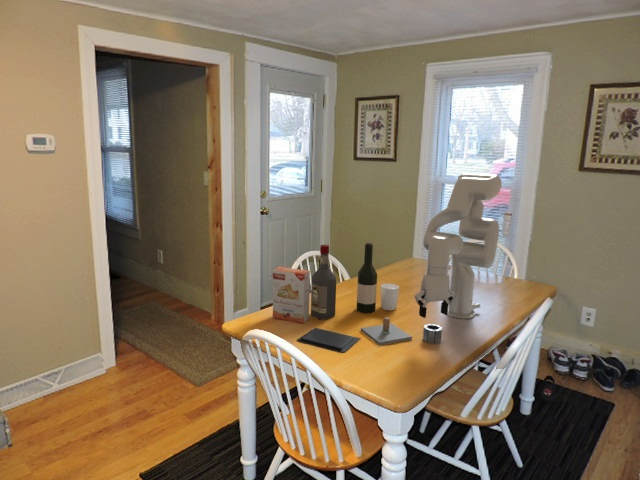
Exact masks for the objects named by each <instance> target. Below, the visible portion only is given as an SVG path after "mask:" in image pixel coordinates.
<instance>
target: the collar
mask: <svg viewBox="0 0 640 480" xmlns="http://www.w3.org/2000/svg"><path fill="white" fill-rule="evenodd" d="M442 335H443V327H442V326H441V325H439V324H435V323H434V324H433V323H428V324H424V326H423V333H422V341H424V342H425V343H428V344H432V345H436V344H440V343H442V337H443V336H442Z"/></svg>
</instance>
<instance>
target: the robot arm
mask: <svg viewBox="0 0 640 480" xmlns="http://www.w3.org/2000/svg"><path fill="white" fill-rule="evenodd" d="M501 188H502V179H501V177H500V176H499V175H497V174H490V173H472V172H471V173H470V172H469V173H468V172H467V173H466V172H465V173H461V174H460V175H459V176H458V177H457V180H456V181H455V183H454V185H453V189H452V192H451V194H450V197H449V200H448V203H447V206H446V207H445V208H444V209H443V210H441V211H439V212H438V213H437V214H436V215H435V216H433V218H431V220H430V221H429V222H428V225H427V227H426V231H425V233H424V237H423V239H422V240H423V241H422V244H423V247H424V249H426V250H427V251H428V252H427V264H426V272H424V274H423V277H422V280H421V285H420V291H419V292H417V293H415V295H414V299H415V302H416V304H418V306H419V311H418V313H419V314H418V316H419V317H421V318H423V319H425V318H426V317H427V307H426V306H428V304H429V303H434V302H441V301H442V302H441V305H440V313H441V314H443V315H445V316H448V317H452V318H454V319H455V318H456V319H460V320H461V319H462V320H463V319H464V320H466V319H469V320H470V319H472V318H474V317H475V316H476V312H475V309H479V308H481V304H480V303H475V304H474V302H473V300H474V299H473V298H474V289H475V287H474V286H475V277H476V276H475V271H474V270H473V267H478V268H483V269H489V268H491V267H493V265H494V263H495V260H496V253H497V247H498V243H499V242H498V241H499V235H500V224H499V222H498V221H497V220H496V219H494V218H490V217H489V218H488V217H483V215H484V209H485V205H484V203H483V201H486V202H487V201H491V200H492V199H493V198H495V197H496V196H498V194H499V193H500V192H501ZM455 222H459V227H458V234H459V235H458V234H456V233H449V232H444V231H439V229H441V228H442V227H444V226H446V225H448V224H451V223H455ZM463 239H467V240H472V241H473V240H474V241H480V242H484V243H476V242H470V241H464V240H463ZM450 258H451V266H449V265H450ZM450 269H451V276H450V274H449V271H450Z"/></svg>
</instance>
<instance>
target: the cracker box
mask: <svg viewBox="0 0 640 480" xmlns="http://www.w3.org/2000/svg"><path fill="white" fill-rule="evenodd" d="M310 277H311V271H310V270H306V269H298V268H293V267H286V266H285V267H284V266H277V267H276V268H274V269H273V270H272V318H273V319H278V320H282V321H288V322H294V323H299V324H305V323H306V322H307V321H308V320H309V318H310V292H311V285H310V284H311V283H310V282H311V281H310V280H311V278H310Z"/></svg>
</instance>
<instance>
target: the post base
mask: <svg viewBox="0 0 640 480" xmlns="http://www.w3.org/2000/svg"><path fill="white" fill-rule="evenodd" d="M390 320H391V318H389V317H387V316H386V317H383V319H382V321H383V322H382V324H378V325H377V324H376V325H371V326H365V327H364V326H363V327H360V332H361V333H363V334H364V335H365V336H367V337H368V338H369V339H371V340H372V341H373V342H374V343H376V344H377V345H378V346H383V345H389V344H393V343H394V344H396V343H400V342H405V341H407V342H408V341H412V340H413V339H412V338H413V336H412V335H410V334H409V333H407V332H406V331H404V330H402V329H401V328H400V327H398V326H397V325H395V324H394V323H392V322H390Z"/></svg>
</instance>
